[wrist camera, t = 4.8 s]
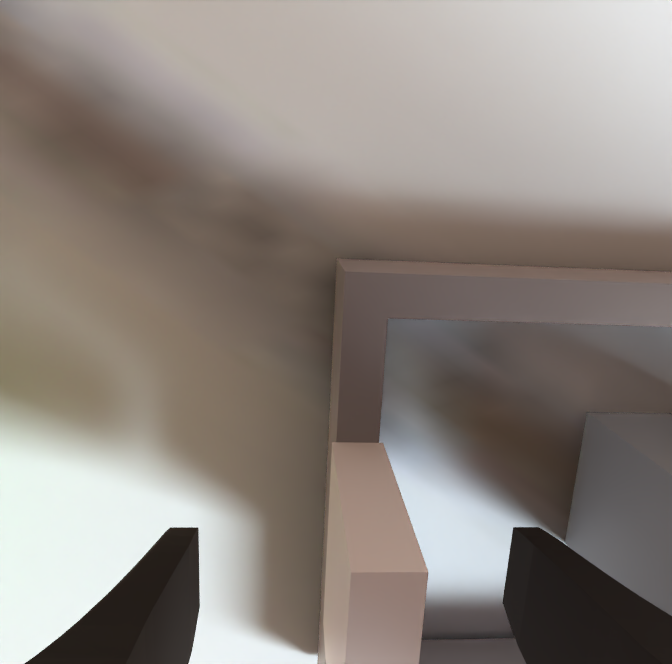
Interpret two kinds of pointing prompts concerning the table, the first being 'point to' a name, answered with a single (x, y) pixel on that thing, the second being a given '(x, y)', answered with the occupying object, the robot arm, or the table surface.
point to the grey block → (626, 502)
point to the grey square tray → (371, 458)
